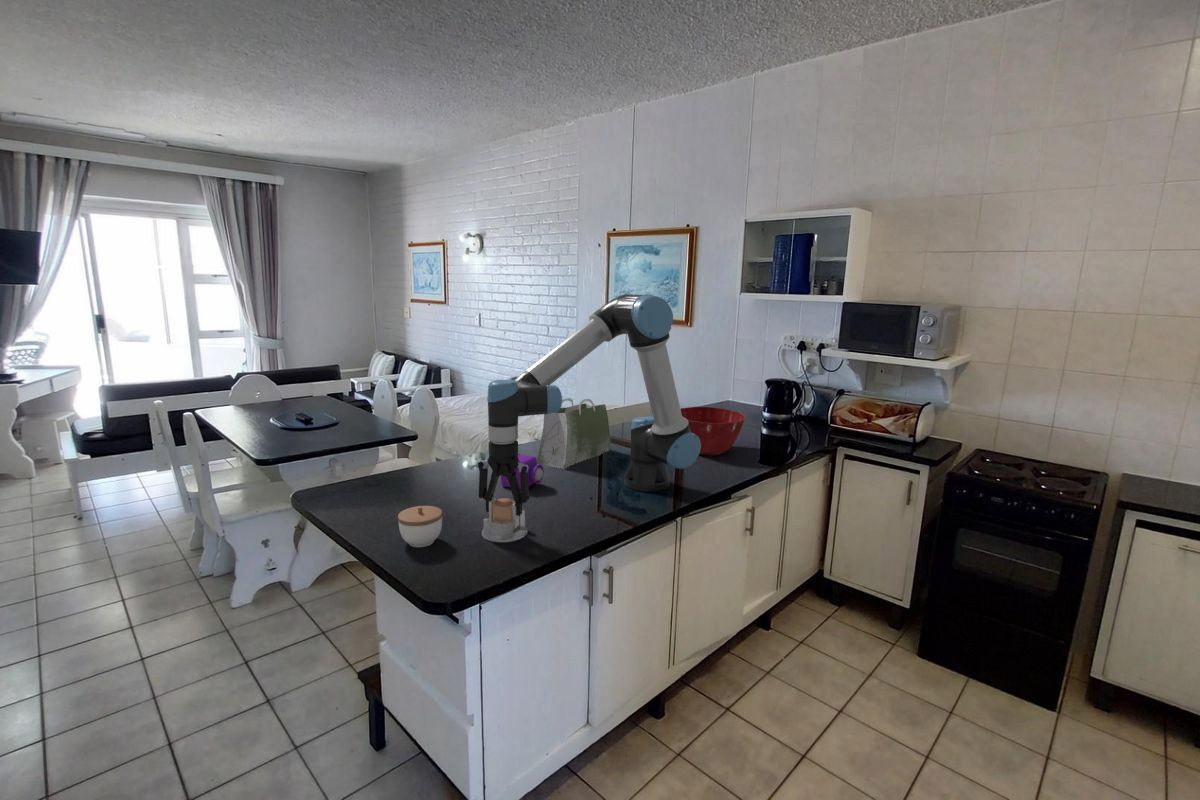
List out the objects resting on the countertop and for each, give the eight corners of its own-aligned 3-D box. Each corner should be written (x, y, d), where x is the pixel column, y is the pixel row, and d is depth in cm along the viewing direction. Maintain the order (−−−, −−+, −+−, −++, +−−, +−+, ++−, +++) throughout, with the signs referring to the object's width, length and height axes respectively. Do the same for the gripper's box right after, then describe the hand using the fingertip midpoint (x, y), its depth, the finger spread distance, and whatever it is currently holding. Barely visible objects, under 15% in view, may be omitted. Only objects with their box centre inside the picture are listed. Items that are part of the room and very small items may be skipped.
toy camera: (538, 492, 180) (538, 462, 178) (498, 489, 182) (497, 459, 180) (548, 481, 190) (548, 453, 188) (509, 478, 193) (509, 450, 191)
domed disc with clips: (534, 526, 154) (533, 509, 153) (517, 545, 143) (517, 526, 142) (493, 521, 157) (493, 504, 156) (473, 539, 146) (473, 521, 145)
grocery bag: (584, 444, 236) (584, 390, 232) (612, 450, 229) (613, 394, 224) (534, 463, 210) (534, 402, 206) (564, 470, 203) (565, 407, 198)
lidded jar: (405, 533, 148) (403, 499, 147) (446, 532, 149) (445, 499, 147) (394, 552, 138) (392, 516, 136) (438, 551, 139) (437, 515, 137)
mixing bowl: (750, 461, 217) (753, 422, 214) (676, 460, 217) (678, 421, 214) (734, 442, 244) (736, 407, 241) (668, 440, 245) (670, 406, 242)
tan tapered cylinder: (519, 525, 152) (519, 498, 150) (510, 534, 146) (510, 506, 144) (498, 522, 153) (498, 496, 152) (488, 531, 147) (488, 504, 146)
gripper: (543, 439, 146) (542, 523, 151) (476, 433, 151) (477, 515, 155) (532, 447, 139) (532, 535, 143) (462, 440, 144) (464, 526, 148)
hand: (504, 524), depth 149 cm, fingers closed on tan tapered cylinder, 6 cm apart
